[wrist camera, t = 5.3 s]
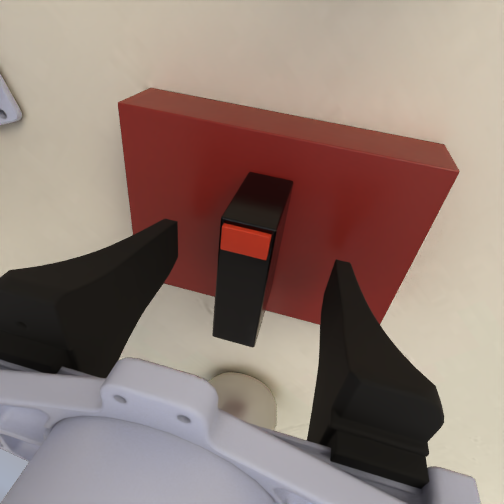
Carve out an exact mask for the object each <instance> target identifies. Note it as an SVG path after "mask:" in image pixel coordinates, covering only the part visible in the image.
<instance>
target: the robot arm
mask: <svg viewBox="0 0 504 504" xmlns="http://www.w3.org/2000/svg"><path fill="white" fill-rule="evenodd" d="M4 112H5V113H6V114H5V113H4ZM6 115H7V116H6ZM21 118H22V112H21V110H20V108H19V106H18V104H17V103H16V101H15V99H14V97H13V95H12V94H11V92H10V90H9V88H8V86H7V85H6V83H5V81H4V79H3V78H2V76H1V74H0V125H3V124H8V123H12V122H16V121H19V120H20V119H21ZM177 258H178V221H174V220H169V219H163V220H161V221H159V222H157V223H155V224H153V225H151V226H149V227H148V228H146V229H144V230H142V231H140V232H138V233H136V234H134V235H132V236H130V237H128V238H126V239H124V240H122V241H120V242H118V243H115V244H113V245H111V246H109V247H106V248H104V249H101V250H98V251H96V252H93V253H90V254H87V255H84V256H80V257H77V258H73V259H70V260H66V261H62V262H57V263H53V264H48V265H43V266H37V267H30V268H23V269H16V270H9V271H8V272H7V273H5V274H4V275H3V276H2V277H0V449H2V450H5V451H7V452H9V453H11V454H13V455H16V456H18V457H20V458H22V459H24V460H26V461H29V463H28V465H27V466H26V468H25V469H24V471H23V472H22V473H21V475H20V476H19V478H18V479H17V481H16V482H15V483H14V485H13V486H12V488H11V489H10V490H9V492H8V493H7V495H6V496H5V498H4V499H3V501H2V502H1V503H0V504H481V501H480V497H479V493H478V489H477V485H476V481H475V479H474V478H473V477H471V476H468V475H465V474H461V473H458V472H455V471H451V470H448V469H445V468H441V467H428V468H427V464H426V457H427V456H428V455H429V449H428V443H427V442H428V441H429V440H430V439H431V438H432V437H433V435H434V434H435V433H436V432H437V431H438V430H439V429H440V428H441V426H442V425H443V423H444V414H443V409H442V404H441V401H440V398H439V395H438V392H437V389H436V386H435V385H434V384H433V383H432V382H431V381H429V380H428V379H427V378H426V377H425V376H424V375H423V374H422V373H421V372H420V371H418V370H417V369H416V368H415V367H414V366H413V365H412V364H411V363H410V361H409V360H408V359H407V358H406V357H405V356H404V355H403V354H402V353H401V352H400V351H399V349H398V348H397V347H396V346H395V345H394V343H393V342H392V341H391V340H390V338H389V337H388V336H387V335H386V333H385V332H384V330H383V329H382V327H381V326H380V324H379V323H378V321H377V320H376V318H375V316H374V315H373V313H372V311H371V309H370V307H369V306H368V304H367V302H366V300H365V297H364V295H363V293H362V291H361V289H360V286H359V284H358V282H357V279H356V276H355V274H354V271H353V268H352V265H351V263H350V262H345V261H341V260H337V259H336V260H335V263H334V266H333V269H332V271H331V274H330V277H329V280H328V283H327V286H326V289H325V292H324V297H323V303H322V309H321V321H320V350H319V366H318V373H317V380H316V387H315V394H314V400H313V407H312V413H311V419H310V425H309V431H308V437H307V441H306V440H303V439H300V438H297V437H293V436H290V435H287V434H283V433H280V432H277V431H274V430H270V429H267V428H264V427H260V426H257V425H254V424H250V423H247V422H245V421H243V420H241V419H239V418H237V417H235V416H233V415H231V414H229V413H228V412H226V411H224V410H222V409H220V408H218V399H219V398H218V395H217V392H216V389H215V388H214V387H213V386H212V385H211V384H210V383H209V382H208V381H207V380H205V379H203V378H200V377H198V376H196V375H193V374H190V373H186V372H183V371H180V370H176V369H173V368H169V367H166V366H163V365H159V364H156V363H152V362H149V361H145V360H142V359H138V358H130V357H127V358H123V359H121V360H118V359H119V357H120V355H121V353H122V351H123V349H124V347H125V345H126V343H127V341H128V339H129V337H130V335H131V333H132V331H133V330H134V328H135V326H136V324H137V322H138V320H139V319H140V317H141V315H142V314H143V312H144V310H145V309H146V307H147V306H148V305H149V303H150V302H151V300H152V299H153V297H154V296H155V295H156V293H157V292H158V290H159V289H160V287H161V286H162V285H163V283H164V282H165V280H166V279H167V277H168V276H169V274H170V272H171V270H172V269H173V267H174V265H175V262H176V260H177ZM425 456H426V457H425Z"/></svg>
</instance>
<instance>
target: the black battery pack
mask: <svg viewBox="0 0 504 504" xmlns="http://www.w3.org/2000/svg"><path fill="white" fill-rule="evenodd" d="M293 184H294V183H293V181H291V180H286V179H282V178H277V177H273V176H268V175H263V174H259V173H254V172H249V173H248V174H247V176H246V178H245V179H244V181H243V183H242V184H241V186H240V187H239V189H238V191H237V192H236V194H235V195H234V197H233V199H232V200H231V202H230V204H229V205H228V207H227V208H226V210H225V212H224V213H223V215H222V216H221V221H220V235H219V250H218V264H217V278H216V292H215V306H214V320H213V336H214V337H217V338H221V339H224V340H228V341H231V342H235V343H238V344H242V345H246V346H249V347H254V346H255V343H256V340H257V337H258V333H259V330H260V326H261V323H262V320H263V316H264V313H265V310H266V306H267V303H268V299H269V296H270V293H271V289H272V284H273V280H274V275H275V270H276V265H277V260H278V256H279V251H280V246H281V241H282V236H283V232H284V227H285V222H286V217H287V213H288V208H289V203H290V198H291V193H292V189H293Z"/></svg>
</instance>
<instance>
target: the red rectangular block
mask: <svg viewBox="0 0 504 504" xmlns="http://www.w3.org/2000/svg"><path fill="white" fill-rule="evenodd" d="M118 110H119V118H120V127H121V135H122V144H123V152H124V161H125V169H126V178H127V187H128V195H129V204H130V212H131V221H132V229H133V235H134V234H136V233H138V232H140V231H142V230H144V229H146V228H148V227H149V226H151V225H153V224H155V223H157V222H159V221H161V220H163V219H169V220H174V221H178V258H177V260H176V262H175V265H174V267H173V269H172V270H171V272H170V274H169V276H168V277H167V279H166V280H165V282H164V283H165V284H168V285H172V286H176V287H180V288H184V289H187V290H191V291H195V292H199V293H202V294H206V295H210V296H214V297H215V292H216V278H217V264H218V250H219V235H220V221H221V216H222V215H223V213H224V212H225V210H226V208H227V207H228V205H229V204H230V202H231V200H232V199H233V197H234V195H235V194H236V192H237V191H238V189H239V187H240V186H241V184H242V183H243V181H244V179H245V178H246V176H247V174H248V173H249V172H254V173H259V174H263V175H268V176H273V177H277V178H282V179H286V180H291V181H293V183H294V184H293V189H292V193H291V198H290V203H289V208H288V213H287V217H286V222H285V227H284V232H283V236H282V241H281V246H280V251H279V256H278V260H277V265H276V270H275V275H274V280H273V284H272V289H271V293H270V296H269V299H268V303H267V306H266V310H267V311H270V312H274V313H278V314H282V315H285V316H289V317H293V318H297V319H301V320H304V321H308V322H312V323H316V324H319V325H320V321H321V309H322V303H323V297H324V292H325V289H326V286H327V283H328V280H329V277H330V274H331V271H332V269H333V266H334V263H335V260H336V259H337V260H341V261H345V262H350V263H351V265H352V268H353V271H354V274H355V276H356V279H357V282H358V284H359V286H360V289H361V291H362V293H363V295H364V297H365V300H366V302H367V304H368V306H369V307H370V309H371V311H372V313H373V315H374V316H375V318H376V320H377V321H378V323H379V324H380V323H381V321H382V320H383V318H384V316H385V314H386V312H387V310H388V308H389V306H390V304H391V302H392V300H393V298H394V297H395V295H396V293H397V291H398V289H399V287H400V285H401V283H402V281H403V279H404V277H405V275H406V273H407V272H408V270H409V268H410V266H411V264H412V262H413V260H414V258H415V256H416V254H417V252H418V250H419V249H420V247H421V245H422V243H423V241H424V239H425V237H426V235H427V233H428V231H429V229H430V227H431V226H432V224H433V222H434V220H435V218H436V216H437V214H438V212H439V210H440V208H441V206H442V204H443V202H444V201H445V199H446V197H447V195H448V193H449V191H450V189H451V187H452V185H453V183H454V181H455V179H456V178H457V176H458V174H459V169H458V168H457V166H456V164H455V162H454V161H453V159H452V157H451V155H450V154H449V152H448V150H447V148H446V147H445V145H444V144H439V143H434V142H428V141H423V140H418V139H413V138H408V137H403V136H397V135H392V134H387V133H382V132H377V131H371V130H366V129H361V128H356V127H351V126H346V125H340V124H335V123H330V122H325V121H320V120H314V119H309V118H304V117H299V116H294V115H289V114H283V113H278V112H273V111H268V110H263V109H257V108H252V107H247V106H242V105H237V104H232V103H226V102H221V101H216V100H211V99H206V98H200V97H195V96H190V95H185V94H180V93H175V92H169V91H164V90H159V89H154V88H149V89H147V90H145V91H142V92H140V93H138V94H136V95H134V96H131V97H129V98H127V99H125V100H122V101H120V102H118Z"/></svg>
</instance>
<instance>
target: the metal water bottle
mask: <svg viewBox="0 0 504 504" xmlns="http://www.w3.org/2000/svg"><path fill="white" fill-rule="evenodd" d="M209 383H210V384H211V385H212V386H213V387H214V388H215V389H216V392H217V395H218V398H219V399H218V408H220V409H222V410H224V411H226V412H228V413H229V414H231V415H233V416H235V417H237V418H239V419H241V420H243V421H245V422H247V423H250V424H254V425H257V426H260V427H264V428H267V429H270V430H275V427H276V420H277V404H276V402H275V399H274V397H273V394H272V392H271V391H270V389H269V388H268V387H267V386H266V385H265V384H263V383H262V382H261V381H259V380H257V379H255V378H253V377H251V376H248V375H245V374H241V373H233V372H228V373H222V374H219V375H217V376H216V377H214V378H213V379H211V380H210V381H209Z"/></svg>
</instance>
